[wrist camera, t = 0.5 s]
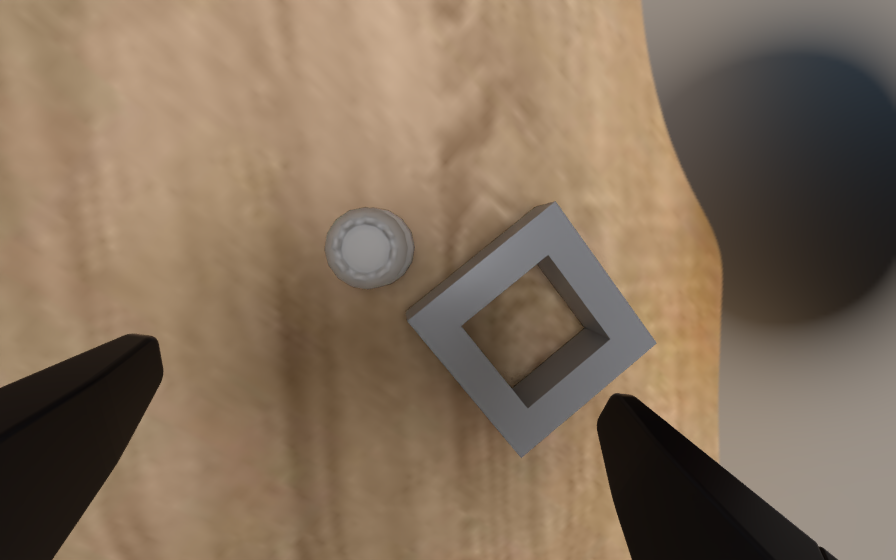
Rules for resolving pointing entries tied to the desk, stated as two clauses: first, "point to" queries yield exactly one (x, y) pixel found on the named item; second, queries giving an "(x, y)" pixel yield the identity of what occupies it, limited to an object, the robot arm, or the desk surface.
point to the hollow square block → (570, 368)
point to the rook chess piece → (369, 247)
